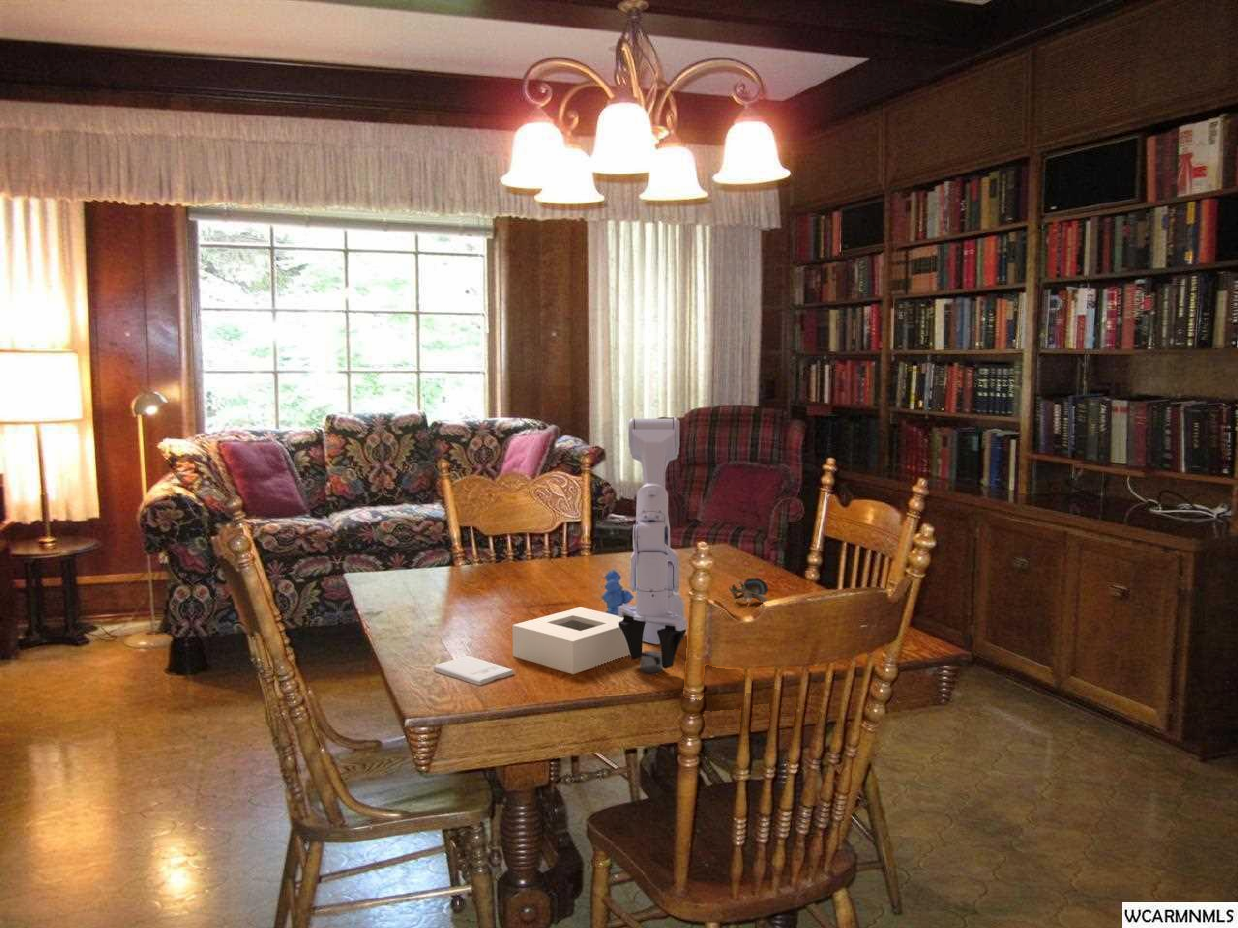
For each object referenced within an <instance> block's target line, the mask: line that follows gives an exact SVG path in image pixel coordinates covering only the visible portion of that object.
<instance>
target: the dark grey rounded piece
mask: <svg viewBox="0 0 1238 928" xmlns="http://www.w3.org/2000/svg"><path fill="white" fill-rule="evenodd" d="M641 671H642V672H641ZM662 671H663V672H664V668H663V666H662V652H661V651H655V650H648V651H642V653H641V658H640V672H641V673H643V672H644V674H646V673H647V675H657V674H656V673H658V674H661V673H663V672H662ZM660 672H661V673H660Z"/></svg>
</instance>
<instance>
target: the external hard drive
mask: <svg viewBox="0 0 1238 928" xmlns="http://www.w3.org/2000/svg"><path fill="white" fill-rule="evenodd" d="M433 671H434V672H437V673H438V674H439V673H440V674H443V675H445V676H448V677H451V678H455V679H457V678H458V680H460V679H461V681H464V682H467V683H470V684H473V685H476V686H482V685H486V684H488V683H491V682H494V681H497V680H498V679H499V680H501V679H503V678H506V677H510V676H512V675H514V674H515V670H514V669H512V668H508V667H505V666H502V665H500V664H496V663H493V662H490V661H487V660H483V659H480V658H476V657H474V656H469V655H465V656H461V657H458V658H455V659H451V660H447V661H444V662H442V663H438V664H435V665H434V666H433Z"/></svg>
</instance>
